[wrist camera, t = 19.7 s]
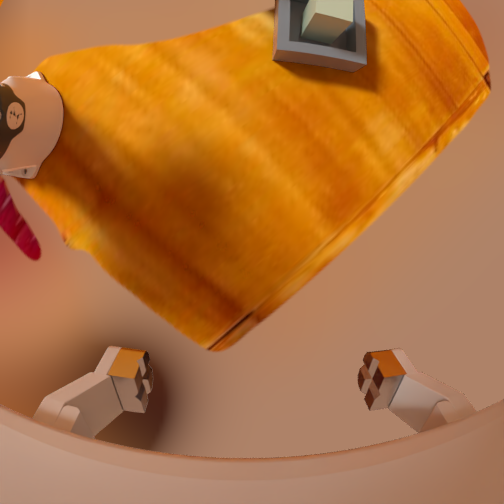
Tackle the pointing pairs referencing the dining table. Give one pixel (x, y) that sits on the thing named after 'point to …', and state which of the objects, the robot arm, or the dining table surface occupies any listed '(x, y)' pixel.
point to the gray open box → (314, 52)
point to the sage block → (326, 19)
